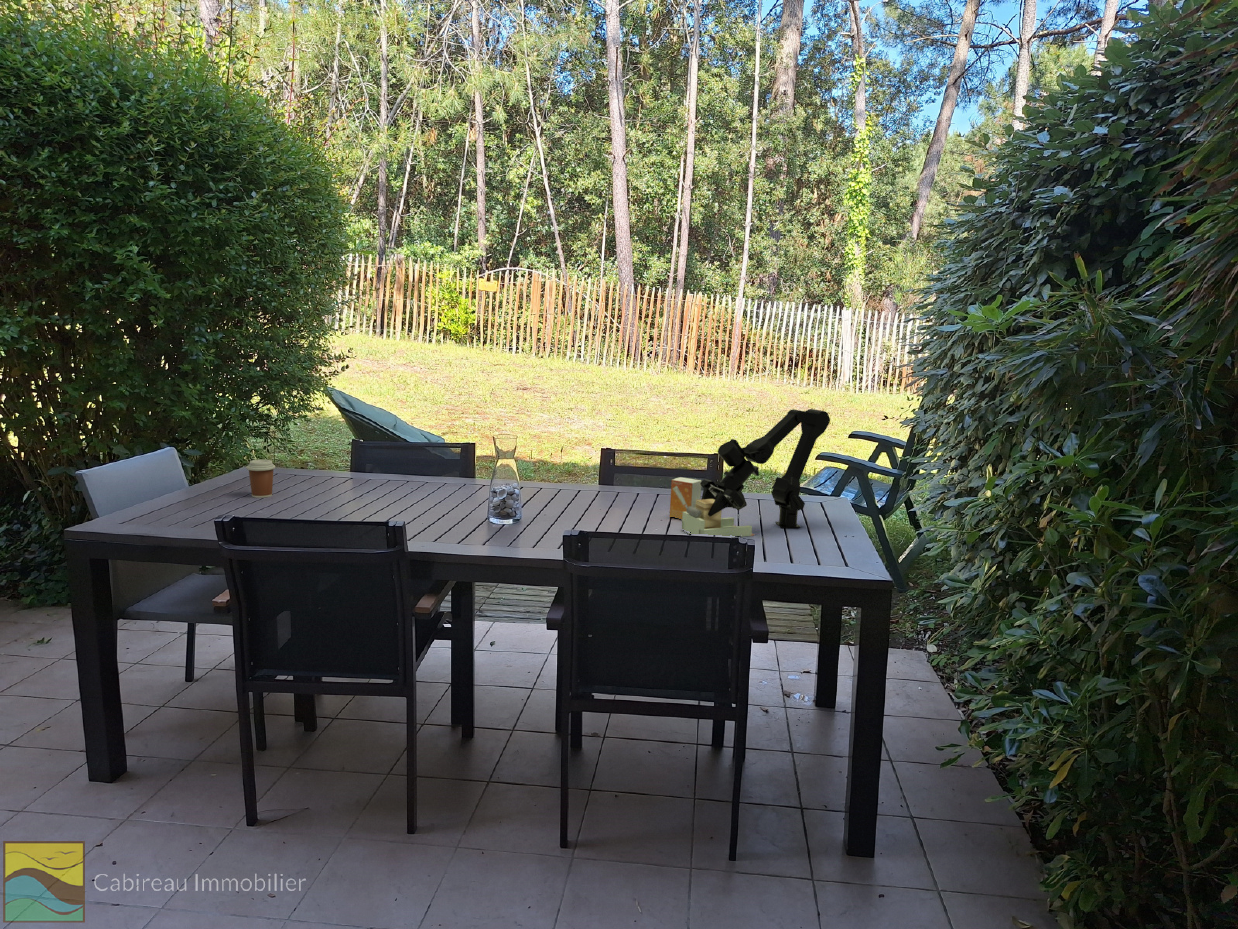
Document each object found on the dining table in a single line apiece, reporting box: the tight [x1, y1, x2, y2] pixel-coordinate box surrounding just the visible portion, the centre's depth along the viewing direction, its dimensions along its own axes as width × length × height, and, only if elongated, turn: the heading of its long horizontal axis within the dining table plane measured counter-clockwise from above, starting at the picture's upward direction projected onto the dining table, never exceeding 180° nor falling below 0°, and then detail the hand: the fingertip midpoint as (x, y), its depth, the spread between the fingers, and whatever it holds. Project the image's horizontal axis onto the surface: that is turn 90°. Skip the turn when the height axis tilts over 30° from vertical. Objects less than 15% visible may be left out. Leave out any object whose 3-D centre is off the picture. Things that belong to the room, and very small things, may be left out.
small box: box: [669, 476, 703, 520], centre depth 290 cm, size 8×6×13 cm
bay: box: [681, 506, 755, 538], centre depth 273 cm, size 19×12×8 cm, turn 114°
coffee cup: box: [246, 458, 276, 499], centre depth 300 cm, size 9×9×12 cm
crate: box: [695, 499, 723, 529], centre depth 271 cm, size 6×6×10 cm
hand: (704, 513), depth 270 cm, fingers closed on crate, 6 cm apart
